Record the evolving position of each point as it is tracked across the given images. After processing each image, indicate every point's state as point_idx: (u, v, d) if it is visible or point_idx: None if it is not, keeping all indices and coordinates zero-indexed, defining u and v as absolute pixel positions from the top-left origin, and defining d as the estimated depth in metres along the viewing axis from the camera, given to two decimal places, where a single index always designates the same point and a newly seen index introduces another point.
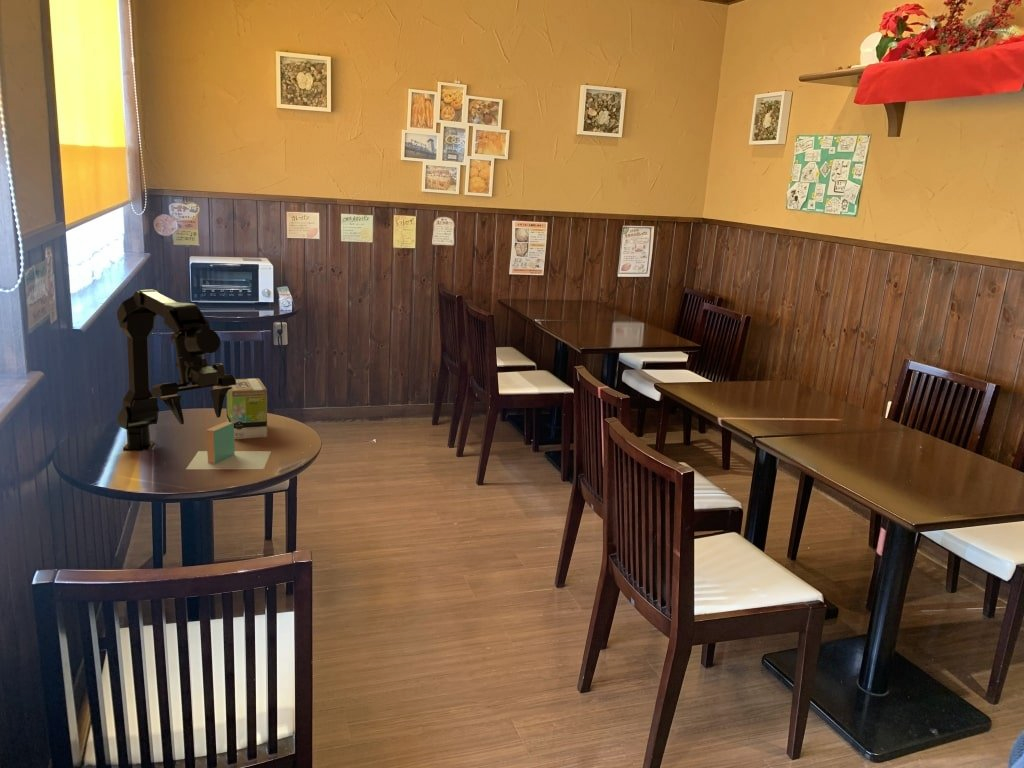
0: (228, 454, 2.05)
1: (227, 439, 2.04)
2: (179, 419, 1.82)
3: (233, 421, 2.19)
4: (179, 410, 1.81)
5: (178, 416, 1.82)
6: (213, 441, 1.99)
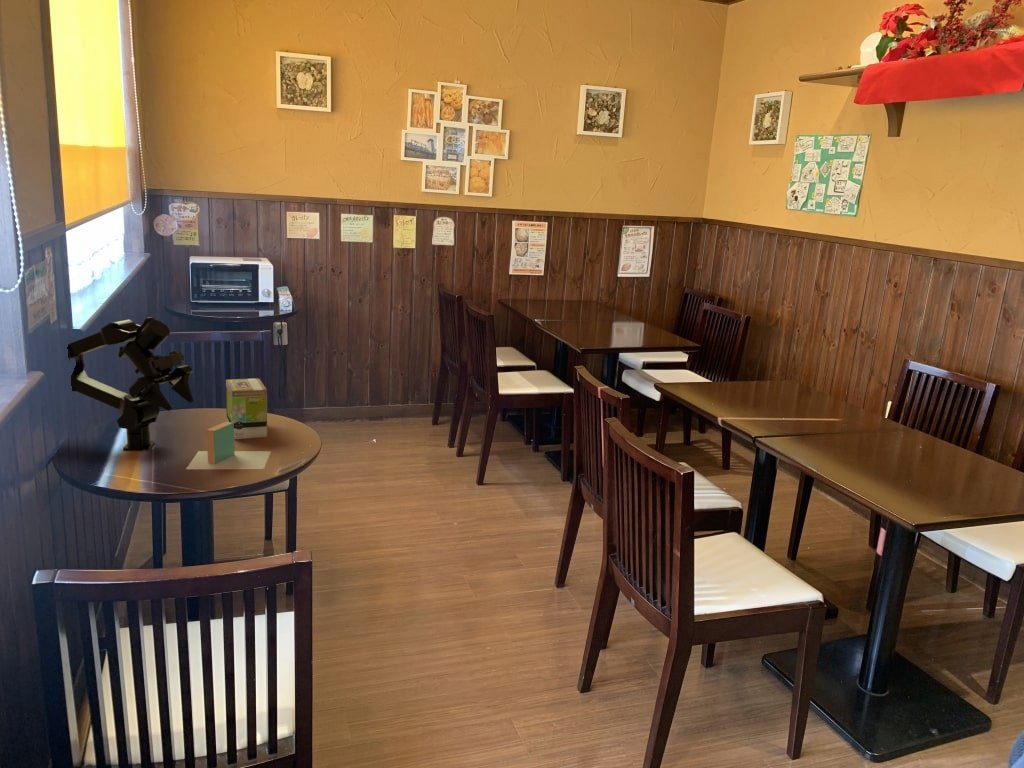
0: (228, 454, 2.05)
1: (227, 439, 2.04)
2: (166, 406, 2.00)
3: (233, 421, 2.19)
4: (163, 397, 2.00)
5: (164, 403, 2.00)
6: (213, 441, 1.99)
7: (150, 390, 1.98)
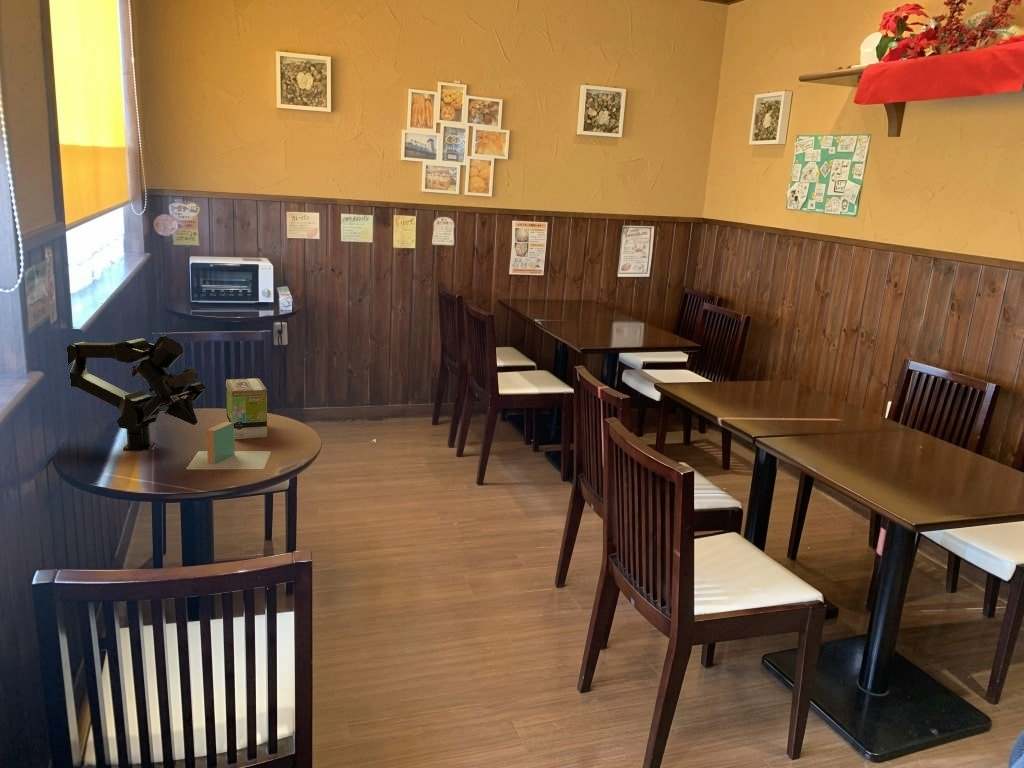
0: (228, 454, 2.05)
1: (227, 439, 2.04)
2: (191, 420, 2.04)
3: (233, 421, 2.19)
4: (188, 412, 2.03)
5: (189, 417, 2.04)
6: (213, 441, 1.99)
7: (175, 405, 2.02)
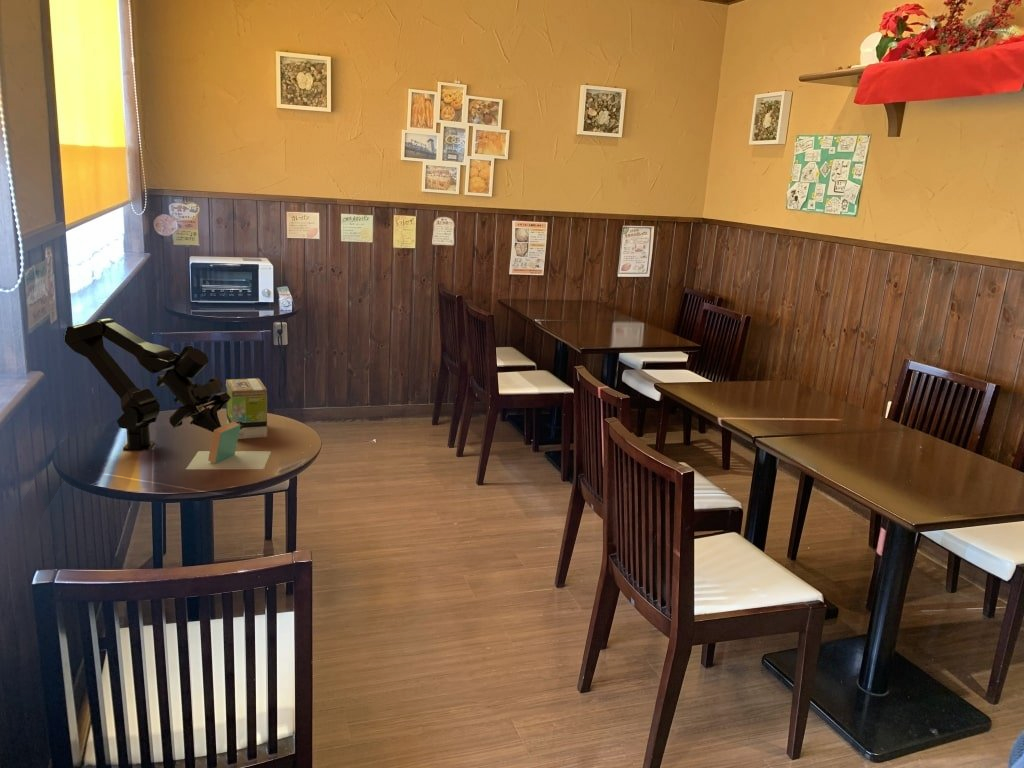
0: (229, 454, 2.05)
1: (231, 440, 2.04)
2: None
3: (233, 421, 2.19)
4: (213, 422, 2.02)
5: (215, 427, 2.02)
6: (218, 442, 1.99)
7: (201, 415, 2.00)
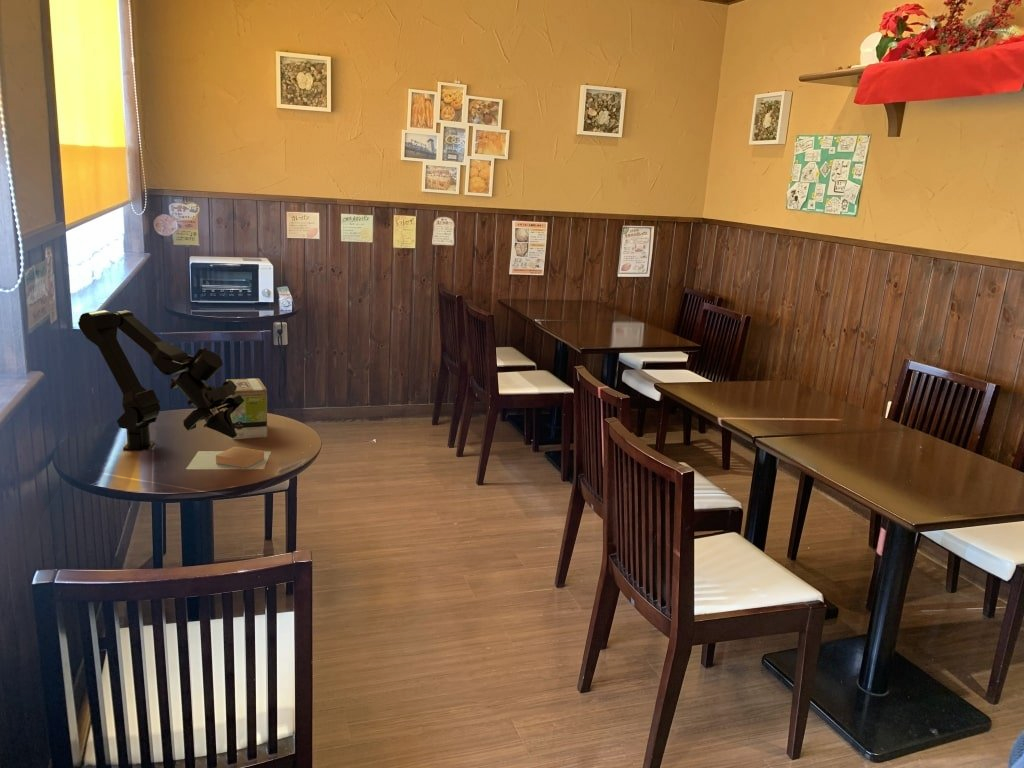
0: None
1: None
2: (230, 433, 2.01)
3: (233, 421, 2.19)
4: (227, 425, 2.01)
5: (228, 431, 2.01)
6: (236, 465, 1.99)
7: (215, 418, 1.99)
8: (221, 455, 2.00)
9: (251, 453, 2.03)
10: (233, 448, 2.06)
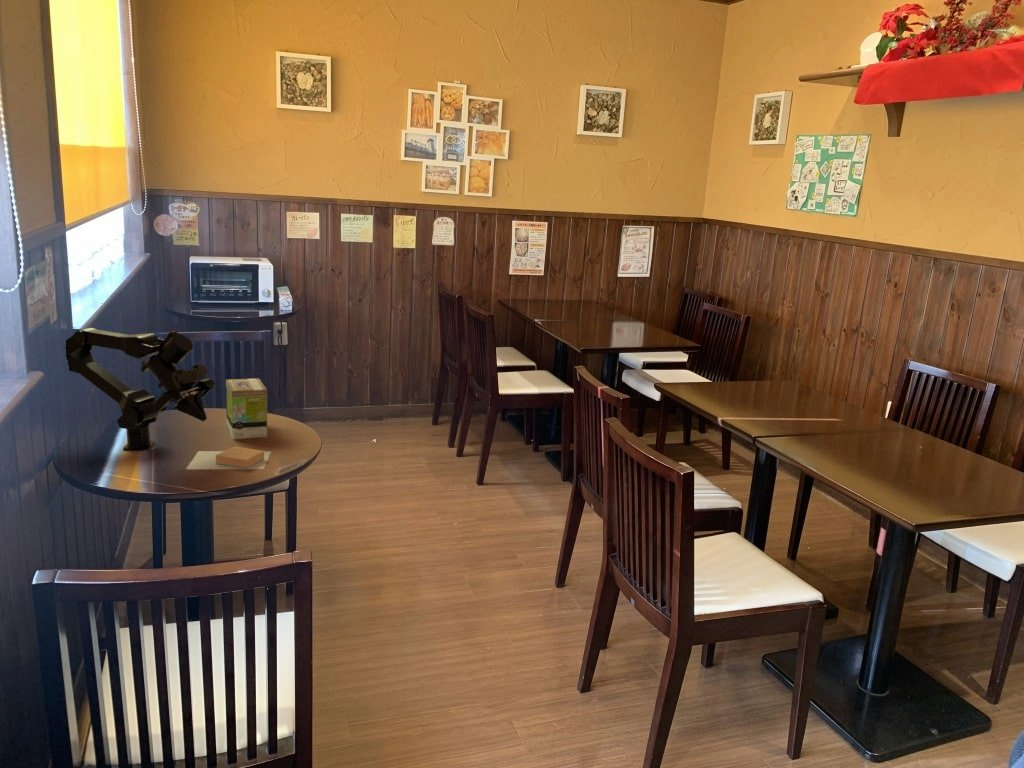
0: None
1: None
2: (200, 416, 2.03)
3: (233, 421, 2.19)
4: (197, 408, 2.02)
5: (198, 414, 2.02)
6: (236, 465, 1.99)
7: (185, 401, 2.01)
8: (221, 455, 2.00)
9: (251, 453, 2.03)
10: (233, 448, 2.06)
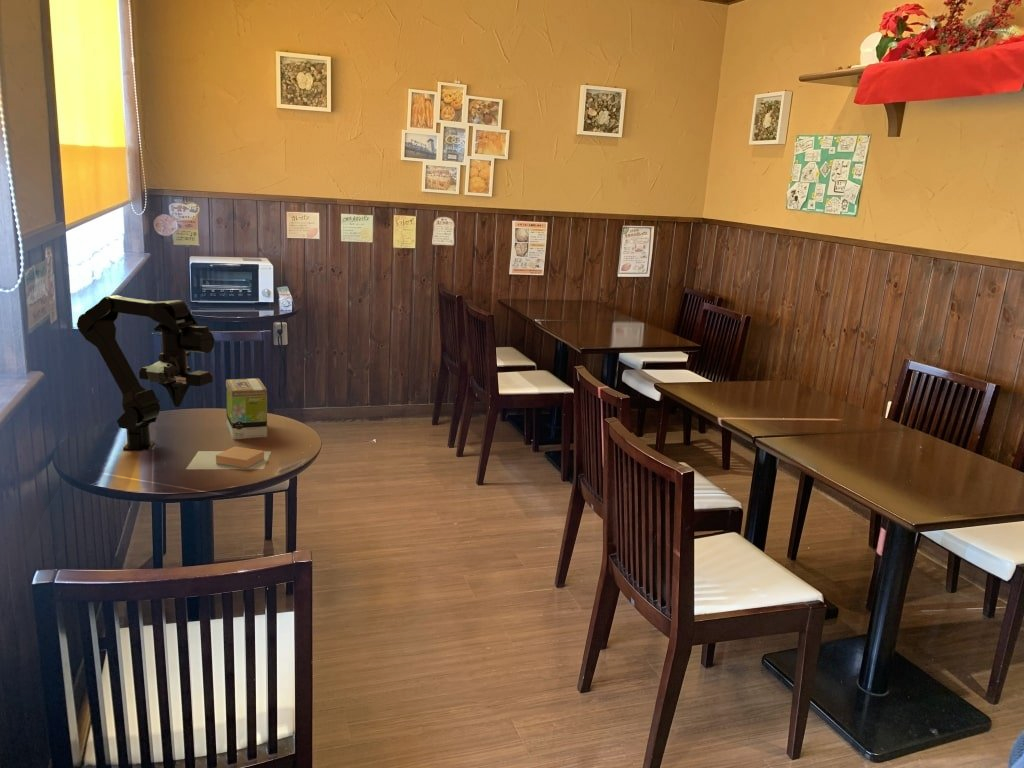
0: None
1: None
2: None
3: (233, 421, 2.19)
4: (171, 394, 2.03)
5: None
6: (236, 465, 1.99)
7: None
8: (221, 455, 2.00)
9: (251, 453, 2.03)
10: (233, 448, 2.06)
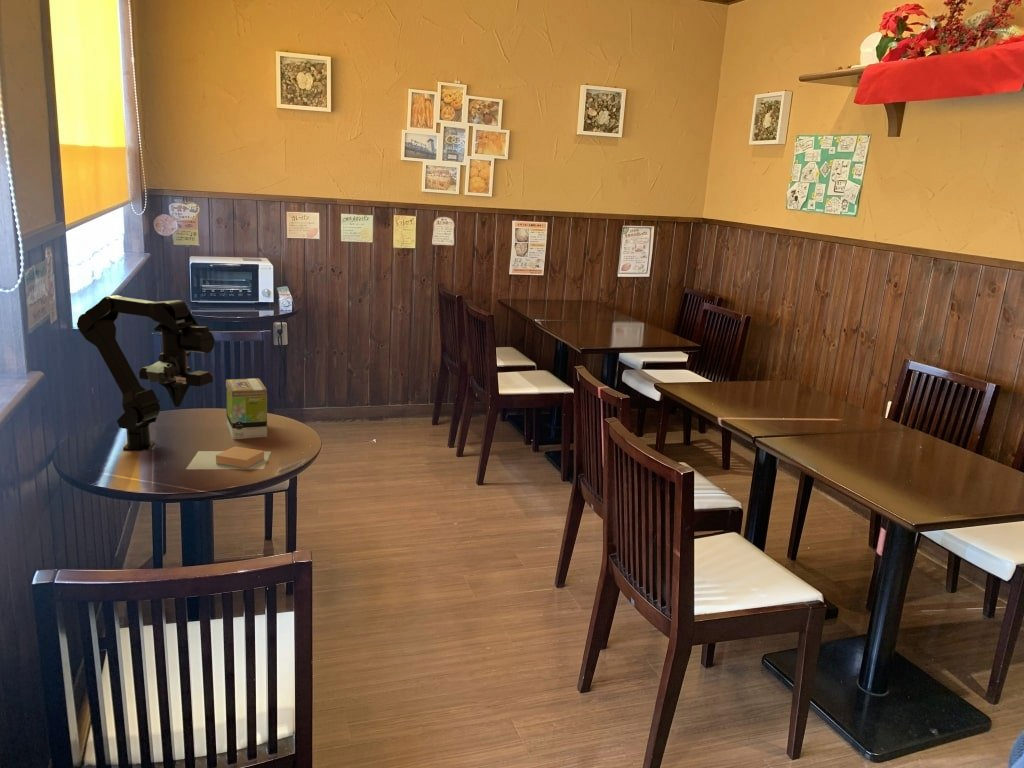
0: None
1: None
2: None
3: (233, 421, 2.19)
4: (171, 395, 2.03)
5: None
6: (236, 465, 1.99)
7: None
8: (221, 455, 2.00)
9: (251, 453, 2.03)
10: (233, 448, 2.06)
